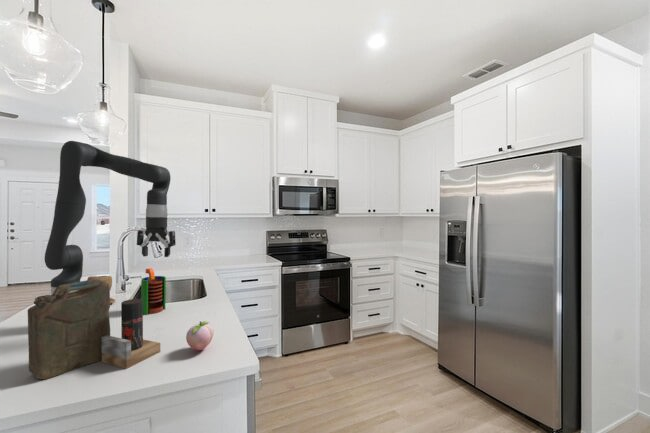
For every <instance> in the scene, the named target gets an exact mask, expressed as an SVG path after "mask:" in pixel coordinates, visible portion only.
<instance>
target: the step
mask: <svg viewBox="0 0 650 433" xmlns="http://www.w3.org/2000/svg"><path fill="white" fill-rule="evenodd" d="M160 352H161V342H157V341H152V340H147V339H144V338H143V346H142V347H141V348H139V349H137V350H133V351H131V340H126V339H122V337H116V336H112V335H110V336H108V335H106V336H103V337H102V360H101V363H103V364H107V365H109V366H110V365H111V366H115V367H118V368H123V369H129V368H131V367H133V366H135V365H136V364H139V363H141V362H143V361H145V360H147V359H148V358H151V357H152V356H155V355H156V354H159V353H160Z"/></svg>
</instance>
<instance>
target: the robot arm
mask: <svg viewBox="0 0 650 433" xmlns="http://www.w3.org/2000/svg"><path fill="white" fill-rule="evenodd" d="M59 155H60V156H59V179H58V188H57V194H56V198H55V205H54V213H53V220H52V226H51V230H50V235H49V237H48V240H47V245H46V249H45V252H44V263H45V267H47V269H49V270H51V271H57V270H62V271H61V272H60V273H59V274H58V275H57V276H55V277H53V278H52V279H51V280H50V295H53V293H54V291H55V289H56V288H57V287H58V286H60V285H64V284H70V283H75V282H81V279H82V277H83V270H84V269H83V267H84V254H83V250H82V247H80V246H78V244H77V245H76V244H67V242H68V239H69V236H70V234H71V233H72V232H73V230H74V229H75V228H76V227H77V225H79V223H80V222H81V221H82V219H83V217H84V215H85V210H86V204H87V198H86V194H85V191H84V189H83V187H82V183H81V178H80V176H81V170H82V169H81V168H82V167H94V168H95V167H96V168H103V169H107V170H110V171H113V172H115V173H117V174H120V175H124V176H127V177H131V178H134V179H139V180H142V181H144V182H147V183H152V187H151V189H149V190H147V192H146V207H145V208H146V209H145V229H139V230H137V234H136V245H137V246H140V247H141V254H142V256H143V257H148V256H149V244H151V243H153V242H157V243H161V244H162V245H163V246H164V258H168V257H170V255H171V248H172V247H175V246H176V245H177V244H176V243H177V242H176V231H175V230H170V231H168V215H169V214H168V205H167V204H168V203H167V200H168V193H169V192H168V191H169V188H170V184H171V180H172V179H171V178H172V177H171V173H170V170H169V169H168V168H167V167H164V166H159V165H158V164H153V163H147V162H143V161H141V160H138V159H135V158H131V157H127V156H123V155H122V156H121V155H116V154H113V153H110V152H107V151H104V150H102V149H99V148H97V147H96V146H93V145H91V144H90V143H89V144H88V143H86V142H81V141H75V140H68V141H65V143H64V144H63V145H62V146H61V149H60V154H59ZM145 236H146V237H145ZM167 236H168V238H169V239H168V238H167ZM75 291H78V290H75ZM75 291H70V292H69V293H71V292H75Z"/></svg>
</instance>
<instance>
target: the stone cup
mask: <svg viewBox="0 0 650 433" xmlns="http://www.w3.org/2000/svg"><path fill="white" fill-rule="evenodd" d="M92 279H98V280H101V281H105V282H107V283H108V284H109V288H110V291H111V290H112V286H113V278H112V276H111V275H95V276H93V275H92V276H91V275H90V276H88V277H87V279H86V280H92ZM115 302H116V299H114V298H112V297H110V304H114V303H115Z"/></svg>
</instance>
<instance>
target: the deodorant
mask: <svg viewBox="0 0 650 433" xmlns="http://www.w3.org/2000/svg"><path fill="white" fill-rule="evenodd" d="M120 307H121V308H120V309H121V310H120V312H121V326H120V327H121V330H120V331H121V338H122V339H126V340H131V351H133V350H137V349H139V348H141V347H142V346H143V339H144V321H143V320H144V318H143V317H144V314H143V300H142V299H141V298H133V299H127V300H123V301H122V302H121V306H120Z"/></svg>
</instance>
